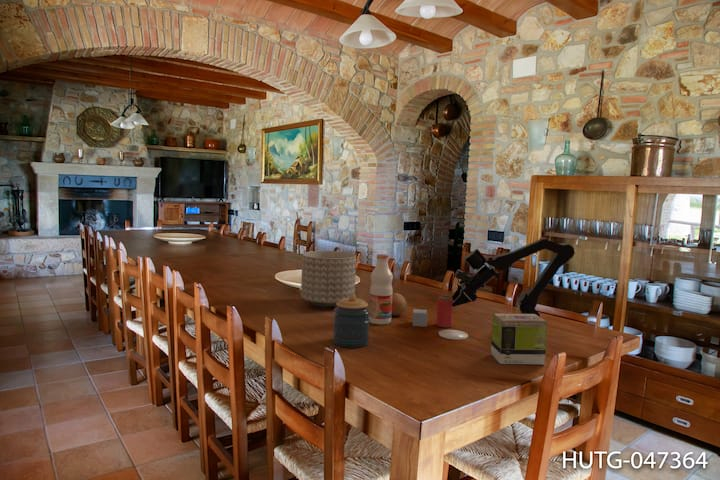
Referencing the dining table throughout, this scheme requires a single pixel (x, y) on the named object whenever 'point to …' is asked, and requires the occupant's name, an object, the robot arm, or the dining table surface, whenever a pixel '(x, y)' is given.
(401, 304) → the onion
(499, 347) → the tea box
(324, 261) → the planter
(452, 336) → the coaster
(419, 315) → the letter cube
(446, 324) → the beer can
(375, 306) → the fruit juice
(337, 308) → the canister
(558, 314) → the dining table surface
